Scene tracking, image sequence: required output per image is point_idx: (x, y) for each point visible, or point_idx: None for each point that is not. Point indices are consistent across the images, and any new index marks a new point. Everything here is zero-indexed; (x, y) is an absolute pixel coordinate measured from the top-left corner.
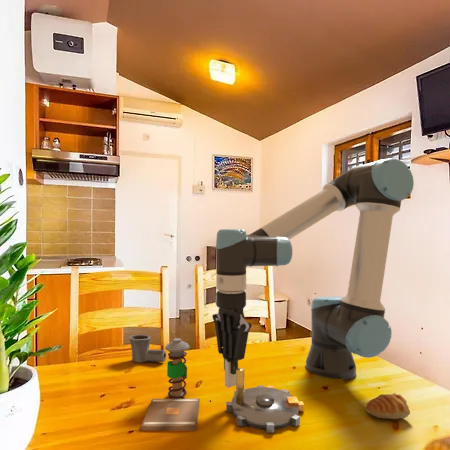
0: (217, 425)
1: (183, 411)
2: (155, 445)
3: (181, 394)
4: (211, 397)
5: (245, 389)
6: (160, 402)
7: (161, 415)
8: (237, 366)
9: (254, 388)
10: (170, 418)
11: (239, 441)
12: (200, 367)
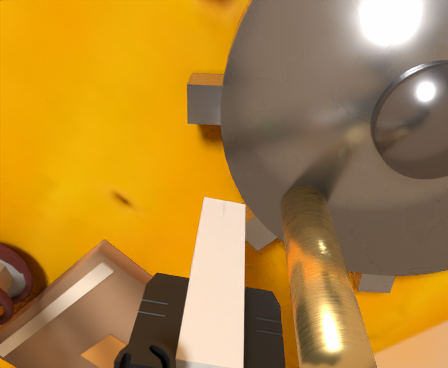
0: (287, 302)
1: None
2: None
3: (11, 270)
4: (99, 175)
5: (231, 63)
6: (27, 346)
7: None
8: (282, 349)
9: (272, 1)
10: None
11: (411, 320)
12: None
